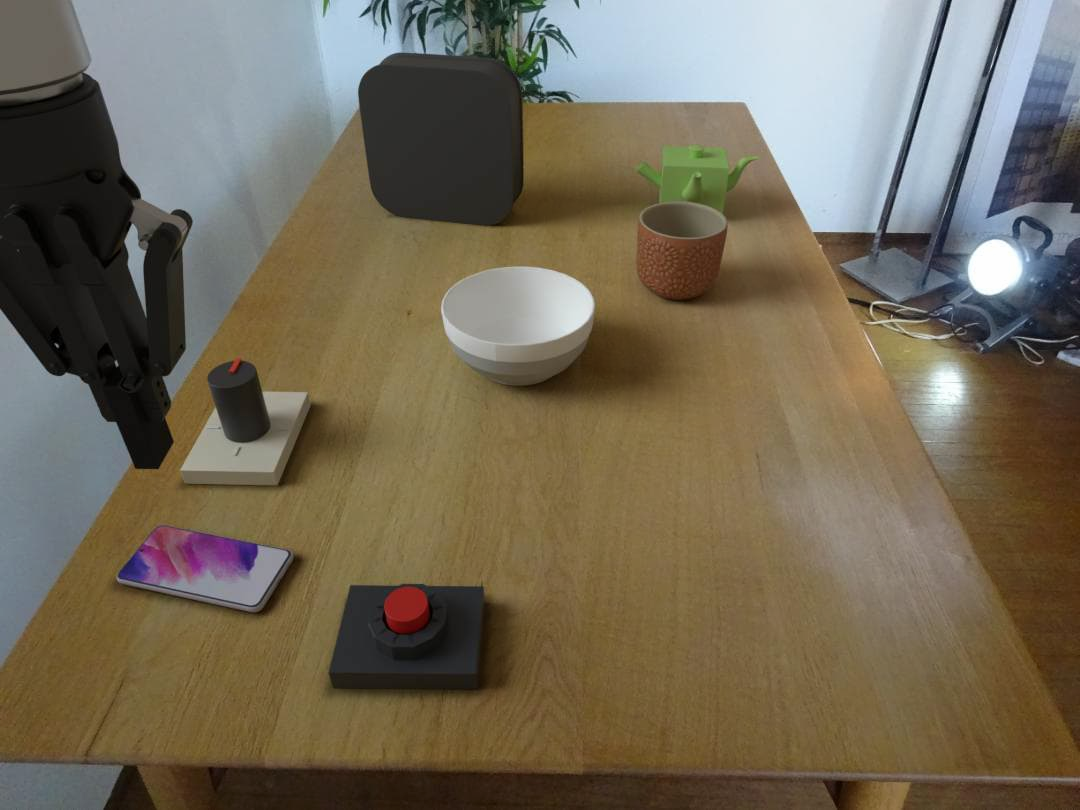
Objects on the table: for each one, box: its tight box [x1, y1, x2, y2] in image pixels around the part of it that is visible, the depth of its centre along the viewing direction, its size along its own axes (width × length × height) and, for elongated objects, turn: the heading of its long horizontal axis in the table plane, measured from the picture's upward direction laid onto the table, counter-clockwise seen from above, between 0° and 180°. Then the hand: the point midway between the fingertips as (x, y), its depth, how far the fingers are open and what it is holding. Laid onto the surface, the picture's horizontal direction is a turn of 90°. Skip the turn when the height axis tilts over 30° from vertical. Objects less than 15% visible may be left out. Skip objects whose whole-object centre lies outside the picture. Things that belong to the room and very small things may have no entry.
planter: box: [635, 201, 728, 301], centre depth 116 cm, size 12×12×11 cm
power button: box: [384, 587, 430, 634], centre depth 67 cm, size 4×4×2 cm
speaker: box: [357, 52, 525, 226], centre depth 133 cm, size 25×9×25 cm, turn 77°
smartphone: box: [116, 524, 294, 613], centre depth 76 cm, size 7×1×15 cm
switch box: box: [328, 583, 486, 690], centre depth 69 cm, size 12×9×4 cm
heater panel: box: [179, 390, 312, 487], centre depth 91 cm, size 14×10×2 cm
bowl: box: [440, 266, 596, 387], centre depth 101 cm, size 19×19×9 cm
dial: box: [206, 358, 271, 443], centre depth 88 cm, size 5×5×8 cm
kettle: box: [635, 144, 760, 215], centre depth 137 cm, size 15×14×11 cm
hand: (155, 454), depth 53 cm, fingers closed
